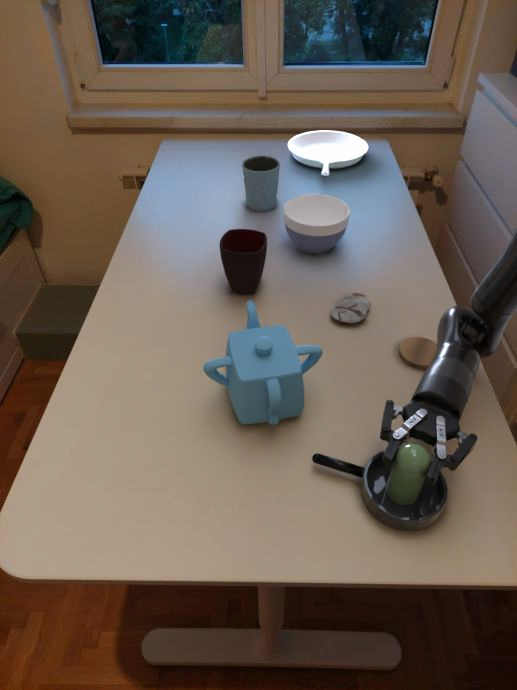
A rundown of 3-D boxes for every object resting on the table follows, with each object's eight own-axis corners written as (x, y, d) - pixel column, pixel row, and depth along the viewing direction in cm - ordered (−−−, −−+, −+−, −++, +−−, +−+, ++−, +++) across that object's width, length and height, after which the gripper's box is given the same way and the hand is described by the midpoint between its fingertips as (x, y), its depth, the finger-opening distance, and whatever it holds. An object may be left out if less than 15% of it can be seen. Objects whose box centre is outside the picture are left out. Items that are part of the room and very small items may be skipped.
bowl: (358, 251, 124) (363, 216, 118) (301, 267, 119) (304, 232, 113) (325, 222, 135) (328, 188, 128) (271, 236, 130) (272, 202, 123)
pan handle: (367, 472, 77) (369, 466, 76) (365, 481, 76) (366, 475, 74) (313, 455, 79) (314, 449, 78) (310, 464, 78) (311, 458, 77)
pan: (365, 142, 175) (367, 128, 172) (369, 192, 147) (371, 177, 144) (290, 138, 178) (291, 125, 174) (279, 188, 150) (280, 172, 147)
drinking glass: (280, 197, 146) (281, 156, 137) (276, 214, 138) (277, 172, 130) (246, 195, 147) (245, 154, 138) (240, 211, 139) (239, 170, 131)
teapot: (328, 392, 90) (335, 337, 81) (272, 451, 81) (273, 396, 72) (251, 349, 99) (249, 294, 90) (192, 397, 90) (184, 342, 81)
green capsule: (420, 482, 76) (436, 441, 69) (416, 510, 73) (432, 470, 66) (388, 473, 77) (401, 431, 70) (383, 499, 74) (395, 459, 67)
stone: (360, 331, 102) (362, 321, 101) (326, 322, 105) (327, 312, 103) (372, 304, 109) (374, 295, 107) (340, 296, 111) (341, 286, 109)
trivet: (443, 346, 99) (444, 342, 98) (438, 373, 94) (440, 369, 93) (402, 336, 101) (403, 332, 101) (395, 362, 96) (396, 359, 95)
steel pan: (446, 472, 78) (451, 461, 76) (437, 542, 70) (443, 532, 68) (370, 450, 81) (372, 439, 79) (353, 514, 73) (355, 504, 71)
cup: (218, 297, 111) (214, 251, 103) (232, 263, 121) (229, 218, 113) (262, 302, 110) (262, 255, 101) (272, 267, 120) (273, 221, 111)
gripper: (402, 358, 79) (361, 434, 68) (498, 393, 73) (468, 482, 62) (394, 390, 84) (354, 466, 73) (482, 425, 78) (453, 512, 68)
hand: (407, 473), depth 68 cm, fingers closed on green capsule, 4 cm apart
